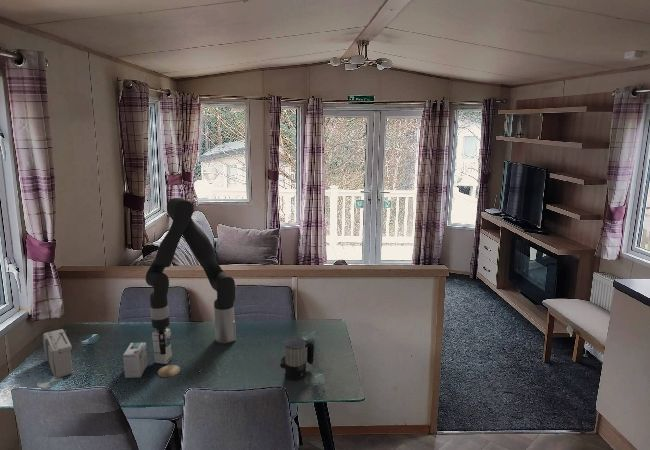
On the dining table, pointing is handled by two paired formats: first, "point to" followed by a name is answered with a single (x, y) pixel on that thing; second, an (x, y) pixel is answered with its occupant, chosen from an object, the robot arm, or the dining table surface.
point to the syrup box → (169, 353)
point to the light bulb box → (135, 360)
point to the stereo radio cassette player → (58, 352)
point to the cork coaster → (168, 371)
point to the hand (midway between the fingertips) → (162, 349)
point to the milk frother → (297, 358)
